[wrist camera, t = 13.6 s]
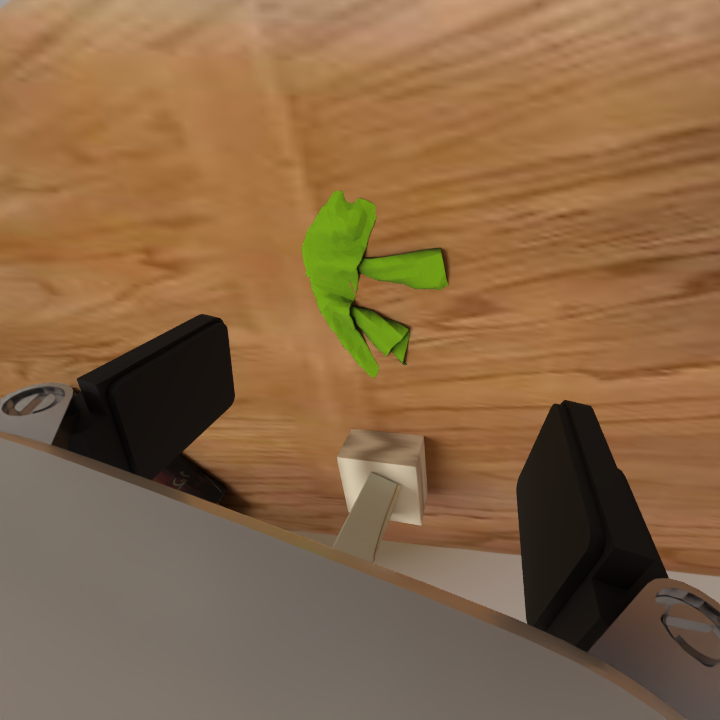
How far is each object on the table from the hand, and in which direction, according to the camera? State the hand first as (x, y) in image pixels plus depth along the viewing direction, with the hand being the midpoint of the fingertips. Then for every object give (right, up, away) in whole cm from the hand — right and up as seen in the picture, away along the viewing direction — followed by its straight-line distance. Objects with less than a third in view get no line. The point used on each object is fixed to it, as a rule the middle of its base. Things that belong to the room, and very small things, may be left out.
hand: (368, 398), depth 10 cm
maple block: (+4, -13, +40) cm, 42 cm away
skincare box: (+2, -16, +35) cm, 39 cm away
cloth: (+2, +8, +30) cm, 31 cm away
